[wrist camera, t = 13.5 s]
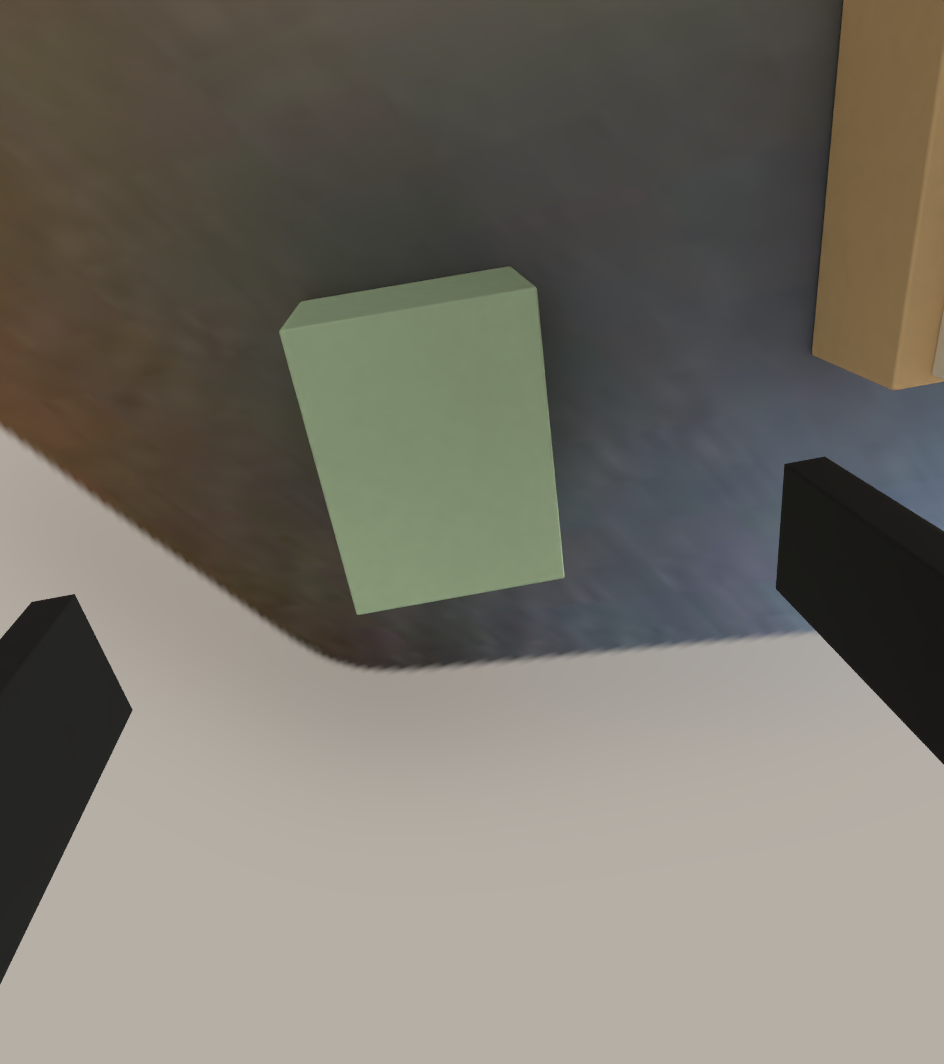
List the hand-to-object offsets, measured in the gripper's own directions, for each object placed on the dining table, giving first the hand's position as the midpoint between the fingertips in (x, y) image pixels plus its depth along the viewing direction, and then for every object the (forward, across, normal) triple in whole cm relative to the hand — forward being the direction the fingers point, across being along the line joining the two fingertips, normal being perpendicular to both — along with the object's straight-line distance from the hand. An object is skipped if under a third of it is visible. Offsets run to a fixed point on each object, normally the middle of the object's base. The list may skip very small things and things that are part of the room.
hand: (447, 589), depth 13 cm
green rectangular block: (+9, 0, 0) cm, 9 cm away
